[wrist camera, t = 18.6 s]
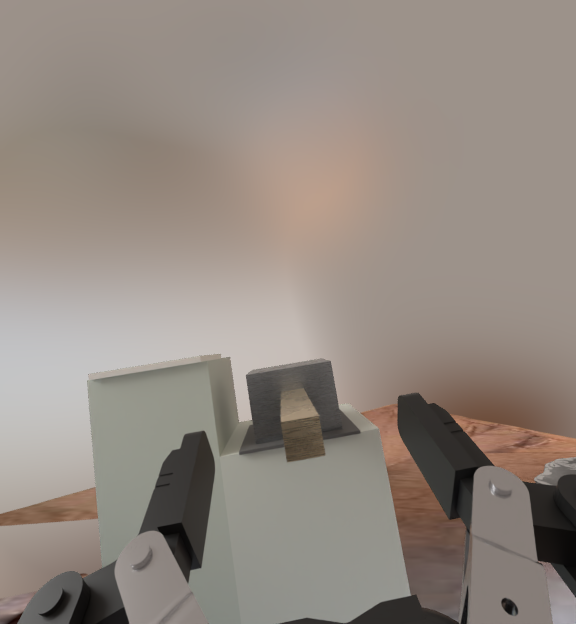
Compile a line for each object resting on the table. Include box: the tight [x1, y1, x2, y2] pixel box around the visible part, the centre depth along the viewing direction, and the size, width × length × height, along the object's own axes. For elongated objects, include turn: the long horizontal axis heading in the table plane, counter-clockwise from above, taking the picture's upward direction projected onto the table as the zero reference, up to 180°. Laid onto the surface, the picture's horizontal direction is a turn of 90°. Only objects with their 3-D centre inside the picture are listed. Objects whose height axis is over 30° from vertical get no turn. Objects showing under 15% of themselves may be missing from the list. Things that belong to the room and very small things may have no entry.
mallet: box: [246, 359, 343, 462], centre depth 28 cm, size 20×9×7 cm, turn 1°
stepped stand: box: [87, 354, 411, 624], centre depth 35 cm, size 14×28×30 cm, turn 91°
